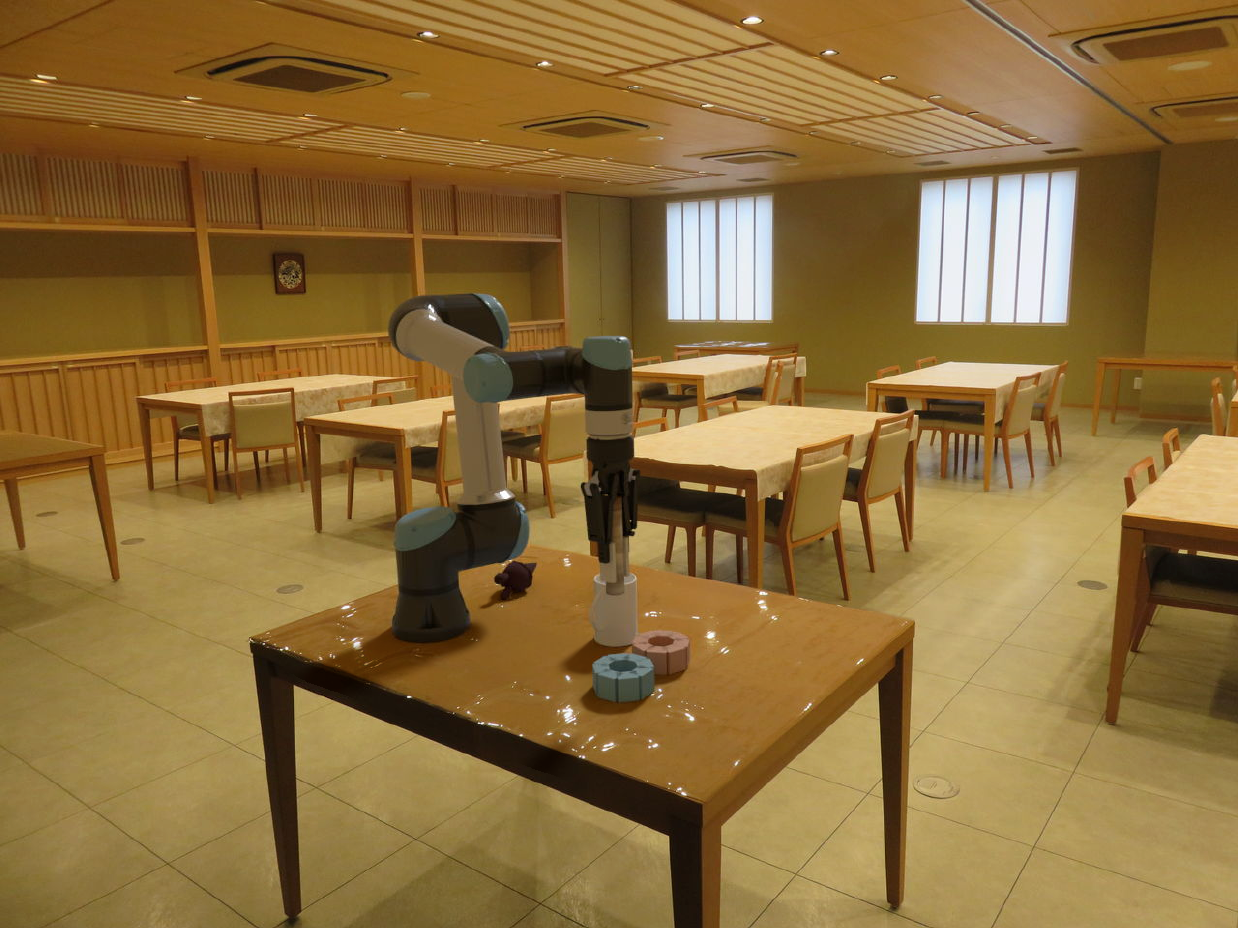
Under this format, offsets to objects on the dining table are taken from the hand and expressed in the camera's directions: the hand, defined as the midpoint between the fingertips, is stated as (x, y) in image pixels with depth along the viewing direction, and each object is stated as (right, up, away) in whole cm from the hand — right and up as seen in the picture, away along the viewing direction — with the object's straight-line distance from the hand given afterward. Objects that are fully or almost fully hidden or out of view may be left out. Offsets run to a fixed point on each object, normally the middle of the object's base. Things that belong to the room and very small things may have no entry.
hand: (614, 577), depth 147 cm
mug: (-1, -15, +24) cm, 28 cm away
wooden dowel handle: (0, -2, 0) cm, 3 cm away
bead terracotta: (+8, -17, +14) cm, 23 cm away
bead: (+1, -19, +4) cm, 19 cm away
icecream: (-22, -10, +52) cm, 57 cm away
